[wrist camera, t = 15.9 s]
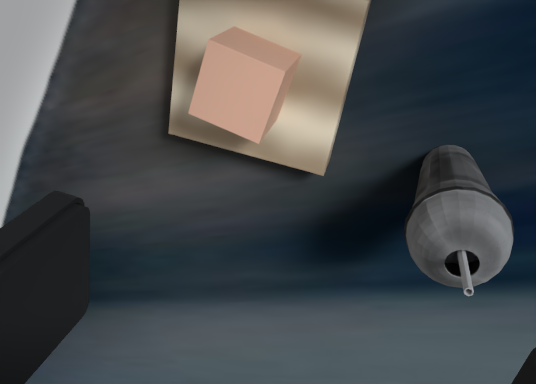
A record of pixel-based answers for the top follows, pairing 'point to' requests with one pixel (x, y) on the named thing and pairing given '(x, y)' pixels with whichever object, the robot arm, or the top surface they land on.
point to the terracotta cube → (243, 83)
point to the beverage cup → (457, 222)
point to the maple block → (302, 85)
